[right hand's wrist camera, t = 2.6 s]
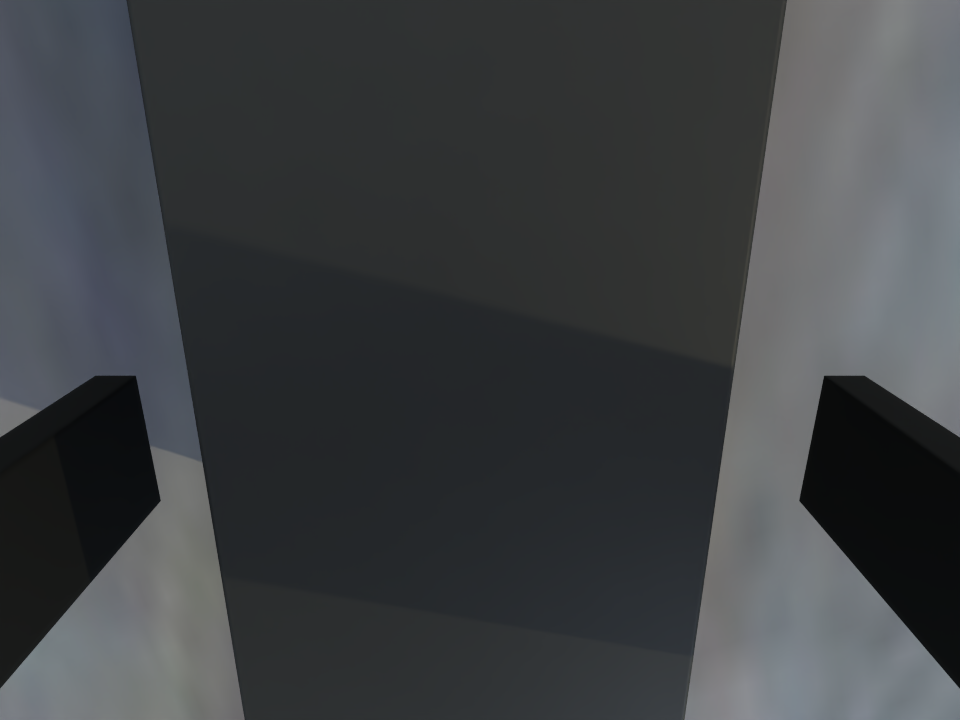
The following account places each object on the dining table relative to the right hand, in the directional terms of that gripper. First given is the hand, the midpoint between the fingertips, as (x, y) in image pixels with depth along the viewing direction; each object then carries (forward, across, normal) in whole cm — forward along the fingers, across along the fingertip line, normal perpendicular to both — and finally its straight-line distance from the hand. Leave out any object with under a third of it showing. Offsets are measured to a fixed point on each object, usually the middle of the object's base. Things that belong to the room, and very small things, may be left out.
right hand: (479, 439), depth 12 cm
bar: (+4, 0, -8) cm, 8 cm away
